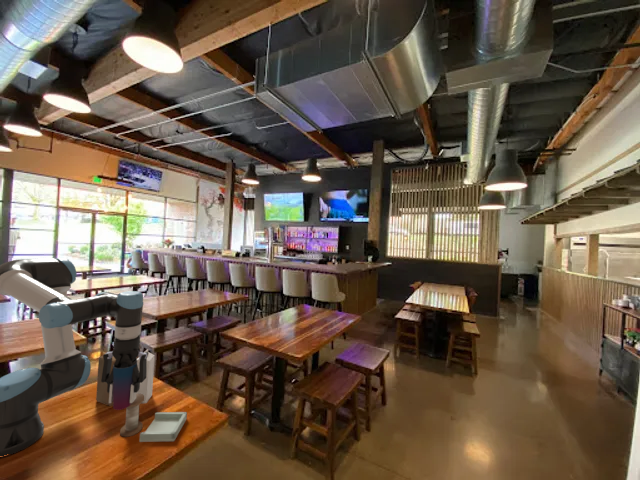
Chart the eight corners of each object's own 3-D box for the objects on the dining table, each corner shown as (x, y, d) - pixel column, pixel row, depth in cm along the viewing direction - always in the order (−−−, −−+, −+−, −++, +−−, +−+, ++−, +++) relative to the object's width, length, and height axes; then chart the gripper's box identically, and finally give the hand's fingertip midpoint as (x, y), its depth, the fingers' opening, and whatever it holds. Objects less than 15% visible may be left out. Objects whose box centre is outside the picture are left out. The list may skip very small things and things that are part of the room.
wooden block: (94, 401, 116) (97, 356, 116) (118, 389, 126) (120, 347, 125) (111, 407, 113) (114, 361, 113) (133, 394, 123) (136, 352, 122)
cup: (104, 409, 91) (108, 366, 91) (122, 397, 98) (125, 357, 97) (121, 413, 90) (125, 369, 90) (138, 401, 96) (141, 360, 96)
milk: (131, 404, 116) (134, 354, 116) (138, 395, 122) (140, 348, 122) (146, 403, 117) (149, 354, 117) (152, 395, 123) (155, 348, 123)
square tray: (139, 441, 96) (139, 434, 96) (155, 419, 108) (156, 412, 108) (174, 441, 98) (174, 433, 98) (186, 418, 110) (187, 412, 110)
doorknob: (115, 437, 98) (117, 404, 98) (127, 423, 105) (129, 393, 105) (135, 436, 99) (138, 404, 98) (146, 423, 105) (147, 393, 105)
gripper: (90, 339, 88) (85, 407, 89) (151, 341, 91) (146, 407, 91) (105, 331, 96) (100, 394, 96) (161, 333, 98) (156, 394, 99)
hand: (122, 400), depth 94 cm, fingers closed on cup, 6 cm apart
